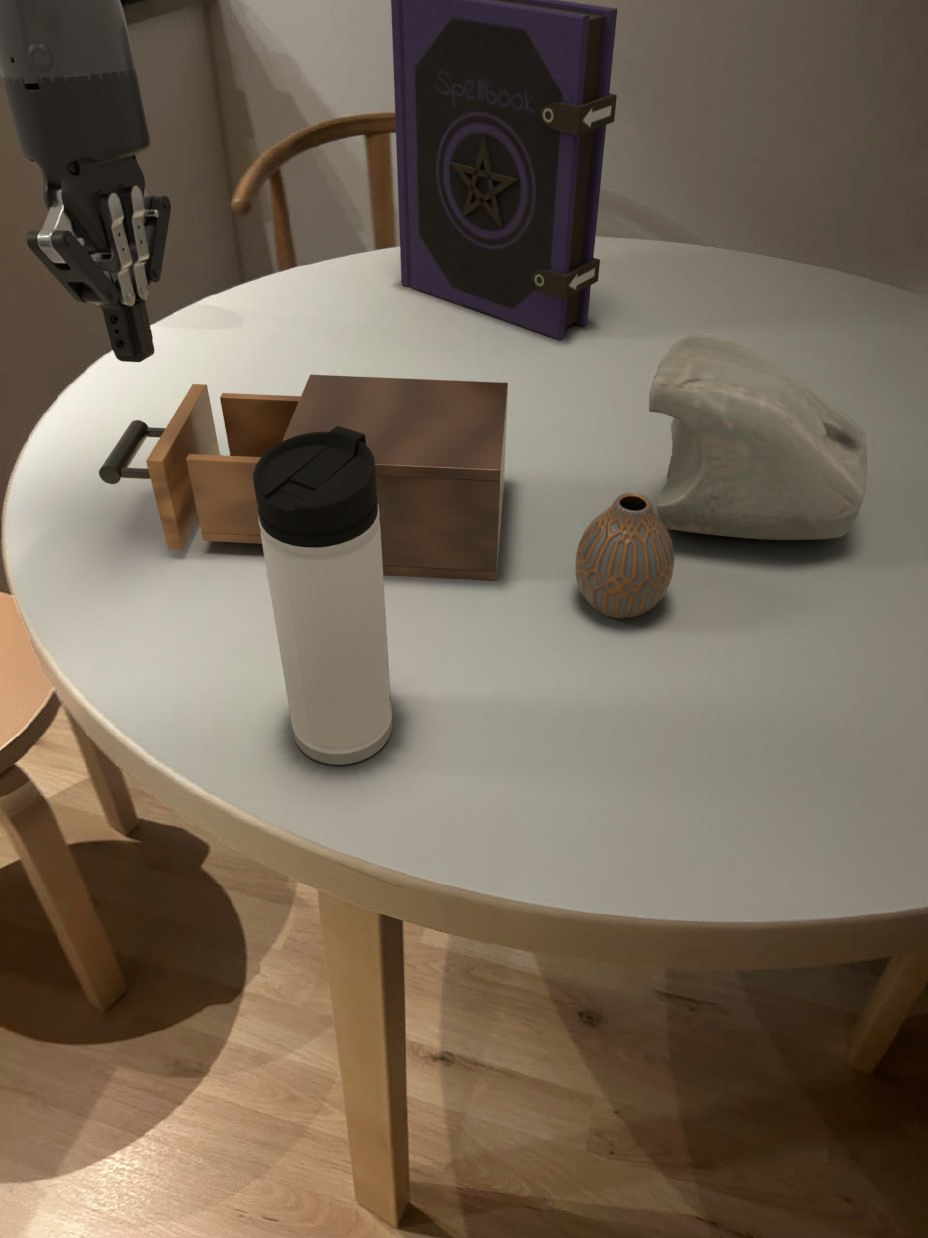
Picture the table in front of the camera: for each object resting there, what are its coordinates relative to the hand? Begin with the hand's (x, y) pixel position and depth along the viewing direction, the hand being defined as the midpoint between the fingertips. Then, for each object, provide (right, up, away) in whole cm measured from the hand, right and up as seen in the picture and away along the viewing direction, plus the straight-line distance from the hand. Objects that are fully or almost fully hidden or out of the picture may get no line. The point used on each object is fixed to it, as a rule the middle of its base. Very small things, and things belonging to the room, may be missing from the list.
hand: (135, 358), depth 65 cm
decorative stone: (+45, -10, +13) cm, 48 cm away
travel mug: (+15, -25, -4) cm, 29 cm away
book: (+26, +18, +45) cm, 55 cm away
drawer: (+5, -9, +12) cm, 16 cm away
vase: (+34, -17, +5) cm, 38 cm away
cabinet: (+17, -10, +12) cm, 24 cm away
